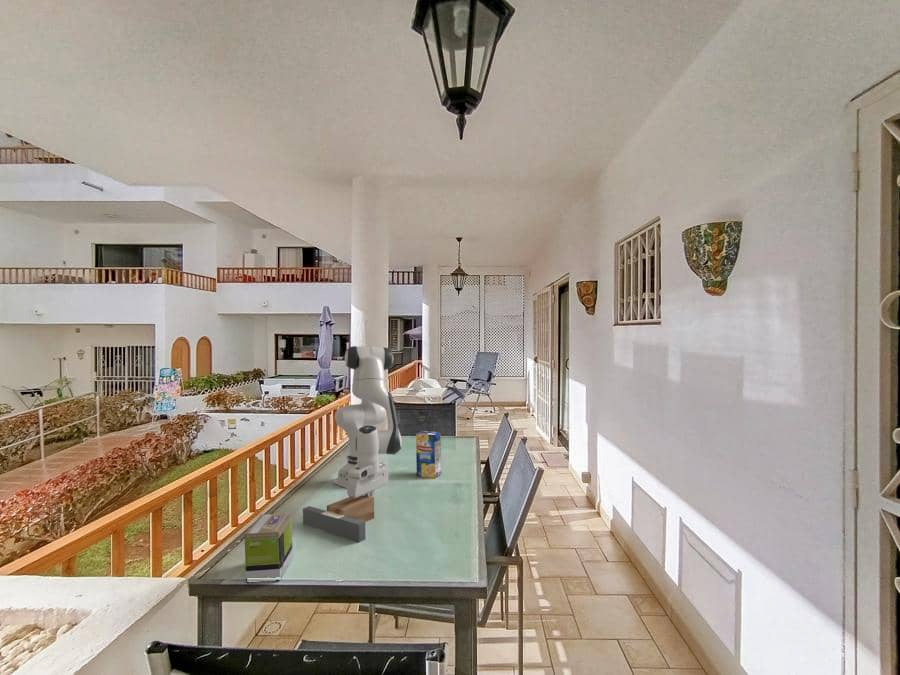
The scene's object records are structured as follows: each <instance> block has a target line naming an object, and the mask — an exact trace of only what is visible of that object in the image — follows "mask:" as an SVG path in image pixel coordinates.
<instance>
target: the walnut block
mask: <svg viewBox="0 0 900 675" xmlns="http://www.w3.org/2000/svg"><path fill="white" fill-rule="evenodd" d="M326 511H330V512H334V513H337V514H341V515H344V516H346V517H350V518H353V519H357V520H361V521H364V522H365V523H366V522H369V521H371V520H373V519H375V497H368V496H365V495H361V496H359V497H357V498H351V497H349V496H348V497H346V498H343V499H341V500H338V501H335V502H332V503H330V504H328V505H326Z"/></svg>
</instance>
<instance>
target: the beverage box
mask: <svg viewBox="0 0 900 675" xmlns="http://www.w3.org/2000/svg"><path fill="white" fill-rule="evenodd" d="M441 436H442V434H441V432H440V431H429V430H428V431H427V430H421V431H419V432H416V433H415V448H416V449H415V450H416V451H415V452H416V453H415V454H416V455H415V457H416V458H415V460H416V476H417V477H422V478H428V479H436V478H439V477H440V476H442V437H441Z"/></svg>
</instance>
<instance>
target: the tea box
mask: <svg viewBox="0 0 900 675" xmlns="http://www.w3.org/2000/svg"><path fill="white" fill-rule="evenodd" d="M292 521H293V520H292V512H283V513H272V514H271V513H270V514H260V515H259V517H257V519H256V520H255V521H254V523H252V525H251V526H250V527H249V529H248V530H247V531H246V532H245V533H244V559H245V560H244V562H245V564H244V566H245V579H246V578H268V577H269V578H276V577H281V576H282V574H283V573H284V574H285V572H286V571H285V569H286V568H287V569H288V567H287V566H289V565H290V563H291V562H290V561H292V559H293V558H294V550H293V546H294V545H293V529H292V528H293V524H292ZM288 564H289V565H288ZM287 569H286V570H287ZM284 571H285V572H284ZM284 574H283V575H284ZM282 577H283V576H282Z"/></svg>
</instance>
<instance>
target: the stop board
mask: <svg viewBox="0 0 900 675" xmlns="http://www.w3.org/2000/svg"><path fill="white" fill-rule="evenodd" d="M304 524H305V525H304ZM302 525H304V526H307V525H308V526H307V527H310V526H311V528H313V527H314V529H316V528H317V530H319V529H320V531H323V532H325V533H326V532H327V533H330V534H332V535H335V536H338V537H341V538H344V539H349V540H352V541H355V542H357V543H361V542H363V541H364V540H366V539H367V538H366V537H367V536H366V522H364V521H361V520H357V519H353V518H350V517H346V516H344V515H341V514H337V513H334V512H330V511H327V510H324V509H321V508H317V507H313V506H311V505H309V506H306V507H303V508H302Z"/></svg>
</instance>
